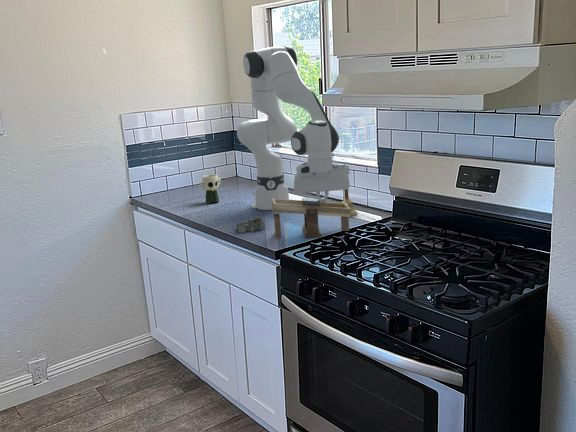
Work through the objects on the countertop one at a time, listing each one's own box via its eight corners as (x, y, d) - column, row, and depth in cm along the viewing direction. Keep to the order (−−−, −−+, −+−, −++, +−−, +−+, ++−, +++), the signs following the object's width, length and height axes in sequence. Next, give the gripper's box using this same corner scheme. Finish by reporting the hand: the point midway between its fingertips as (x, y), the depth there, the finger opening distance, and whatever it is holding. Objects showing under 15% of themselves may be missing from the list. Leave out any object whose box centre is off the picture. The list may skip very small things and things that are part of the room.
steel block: (301, 206, 217) (302, 197, 216) (317, 207, 217) (318, 198, 216) (303, 210, 212) (303, 200, 211) (319, 211, 212) (320, 201, 212)
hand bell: (349, 217, 234) (348, 178, 230) (333, 215, 240) (331, 176, 236) (361, 213, 240) (360, 174, 236) (345, 210, 246) (343, 173, 242)
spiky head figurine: (205, 205, 272) (203, 178, 269) (198, 203, 278) (195, 176, 275) (226, 201, 278) (223, 174, 275) (218, 199, 284) (216, 173, 281)
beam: (271, 206, 218) (272, 198, 217) (345, 211, 220) (346, 203, 220) (272, 211, 210) (273, 203, 209) (349, 216, 212) (350, 208, 211)
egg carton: (262, 225, 233) (261, 215, 232) (266, 230, 225) (265, 220, 224) (235, 228, 230) (234, 218, 229) (238, 233, 223) (237, 223, 222)
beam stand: (274, 230, 223) (272, 203, 221) (344, 224, 224) (343, 197, 222) (276, 240, 209) (274, 212, 207) (351, 234, 210) (349, 206, 208)
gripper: (347, 162, 215) (349, 199, 218) (292, 166, 214) (294, 203, 217) (350, 164, 209) (352, 202, 212) (293, 169, 208) (296, 207, 211)
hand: (322, 203), depth 214 cm, fingers closed
